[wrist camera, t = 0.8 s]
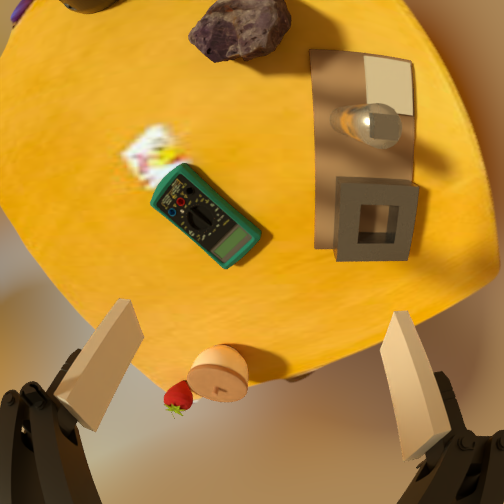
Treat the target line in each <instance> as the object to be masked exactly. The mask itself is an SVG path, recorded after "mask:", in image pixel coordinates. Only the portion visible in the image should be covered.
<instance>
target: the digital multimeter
mask: <svg viewBox="0 0 504 504" xmlns="http://www.w3.org/2000/svg"><path fill="white" fill-rule="evenodd" d="M183 175H184V176H183ZM191 182H192V183H193V184H192V183H191ZM170 184H171V185H170ZM200 190H201V191H200ZM209 198H210V199H211V200H210V199H209ZM150 205H151V206H152V207H153V208H154V209H156V210H157V211H158V212H159V213H161V214H162V215H163V216H164V217H166V218H167V219H168V220H169V221H170V222H172V223H173V224H174V225H175V226H176V227H178V228H179V229H180V230H181V231H182V232H184V233H185V234H186V235H187V236H188V237H189V238H190V239H192V240H193V241H194V242H195V243H196V244H197V245H198V246H200V247H201V248H202V249H203V250H204V251H205V252H206V253H207V254H208V255H209V256H210V257H211V258H212V259H214V260H215V261H216V262H217V263H218V264H219V265H220V266H221V267H222V268H223V269H228V268H229V267H231V266H232V265H234V264H235V263H236V262H237V261H239V260H240V259H241V258H242V257H243V256H244V255H246V254H247V253H248V252H249V251H250V250H251V249H252V248H253V246H254V245H255V244H256V243H257V242H258V241H259V240H260V237H261V230H260V229H259V228H257V227H256V226H255V225H254V224H253V223H251V222H250V221H249V220H248V219H246V218H245V217H244V216H243V215H242V214H240V213H239V212H238V211H237V210H236V209H235V208H233V207H232V206H231V205H230V204H229V203H228V202H227V201H225V200H224V199H223V198H222V197H221V196H220V195H219V194H218V193H216V192H215V191H214V190H213V189H212V188H211V187H210V186H209V185H208V184H207V183H206V182H205V181H204V180H203V179H202V178H201V177H200V176H199V175H198V174H197V173H196V172H195V171H193V170H192V169H191V168H190V167H189V166H188V165H187V164H186V163H182V164H180V165H178V166H177V167H176V168H174V169H173V170H172V171H171V172H169V173H168V174H167V175H166V176H165V177H164V178H163V179H162V180H161V182H160V183H159V184H158V186H157V188H156V190H155V192H154V194H153V197H152V199H151V202H150ZM193 205H194V206H193ZM218 206H219V207H220V208H219V207H218ZM228 215H229V216H228ZM214 218H215V219H214ZM249 240H250V241H249Z"/></svg>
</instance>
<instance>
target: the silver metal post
mask: <svg viewBox="0 0 504 504" xmlns="http://www.w3.org/2000/svg"><path fill="white" fill-rule="evenodd" d="M329 120H330V125H331V127H332V128H333V129H334V130H335V131H336V132H338V133H340V134H343V135H345V136H348V137H350V138H353V139H355V140H358V141H360V142H363V143H365V144H368V145H370V146H372V147H375V148H378V149H387V148H390V147H392V146H394V145H395V144H396V143H397V142H398V141H399V139H400V137H401V134H402V122H401V119H400V117H399V115H398V114H397V112H396V111H395V110H394V109H393V108H392V107H390V106H388V105H386V104H382V103H373V104H362V105H353V106H344V107H338V108H336V109H334V110H333V111H332V113H331V114H330V119H329Z"/></svg>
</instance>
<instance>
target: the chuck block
mask: <svg viewBox="0 0 504 504" xmlns="http://www.w3.org/2000/svg"><path fill="white" fill-rule="evenodd" d="M418 194H419V186H417V185H416V184H414V183H413V182H411V181H410V180H405V179H390V178H372V177H343V176H336V191H335V219H334V237H333V252H334V255H335V259H336V262H344V261H408V256H409V251H410V246H411V241H412V235H413V230H414V223H415V217H416V210H417V202H418ZM361 205H389V214H388V223H387V230H386V232H359V221H360V208H361Z"/></svg>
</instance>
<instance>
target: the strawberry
mask: <svg viewBox="0 0 504 504" xmlns="http://www.w3.org/2000/svg"><path fill="white" fill-rule="evenodd" d="M164 403H165V404H164V405H165V406H166V407H168V408H169V409H166V410H168V411H174V412H175V413H178V414H180V415H181V416H183V415H182V414H181V413H180V412H179V411H185V410H187V409H189V408H190V407H191V405H192V403H193V395H192V392H191V390H190V388H189V386H188V385H187V383H186V381H181V382H179V383H177V384H176V385H174V386H173V387H171V388H170V389H169V390H168V391H167V392H166V394H165V395H164Z"/></svg>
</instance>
